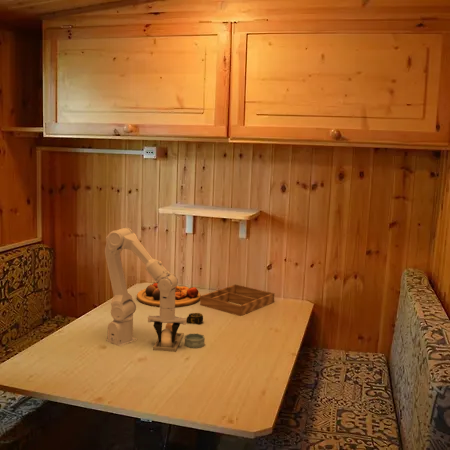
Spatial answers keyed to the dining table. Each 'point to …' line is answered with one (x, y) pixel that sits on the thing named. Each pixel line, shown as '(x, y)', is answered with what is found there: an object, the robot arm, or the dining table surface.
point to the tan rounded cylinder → (166, 338)
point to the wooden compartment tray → (237, 299)
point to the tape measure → (195, 318)
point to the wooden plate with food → (182, 296)
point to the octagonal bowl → (194, 340)
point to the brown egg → (169, 326)
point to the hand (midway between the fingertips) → (166, 341)
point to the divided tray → (173, 349)
